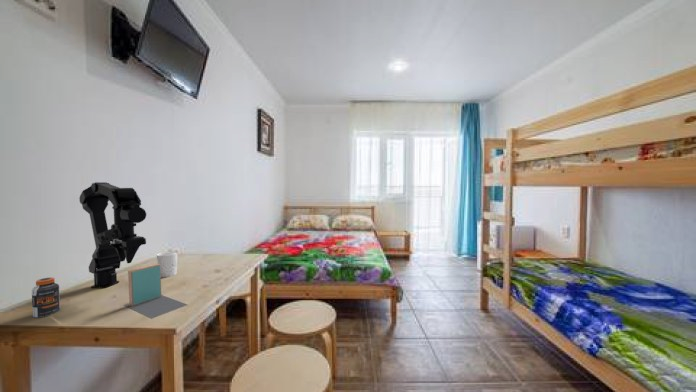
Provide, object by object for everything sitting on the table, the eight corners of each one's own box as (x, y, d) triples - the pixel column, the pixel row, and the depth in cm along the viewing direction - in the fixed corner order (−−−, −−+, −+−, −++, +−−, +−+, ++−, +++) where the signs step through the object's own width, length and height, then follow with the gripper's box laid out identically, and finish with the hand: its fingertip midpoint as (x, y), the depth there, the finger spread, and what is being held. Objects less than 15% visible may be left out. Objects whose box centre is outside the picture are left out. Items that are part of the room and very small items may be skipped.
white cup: (182, 273, 128) (181, 252, 128) (166, 278, 121) (165, 256, 120) (169, 271, 131) (169, 250, 130) (153, 277, 123) (152, 254, 123)
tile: (129, 305, 93) (128, 270, 93) (158, 295, 101) (157, 263, 100) (132, 306, 92) (131, 271, 92) (161, 297, 100) (160, 264, 99)
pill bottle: (35, 319, 84) (33, 283, 84) (30, 315, 88) (28, 280, 87) (62, 312, 89) (60, 277, 89) (57, 307, 93) (55, 274, 92)
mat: (123, 306, 93) (123, 305, 93) (158, 294, 103) (158, 293, 103) (151, 319, 84) (151, 318, 84) (187, 305, 93) (187, 304, 93)
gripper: (85, 222, 101) (87, 264, 102) (108, 225, 92) (110, 272, 92) (122, 218, 111) (124, 257, 111) (145, 221, 101) (147, 263, 102)
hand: (125, 262), depth 104 cm, fingers open, 5 cm apart
